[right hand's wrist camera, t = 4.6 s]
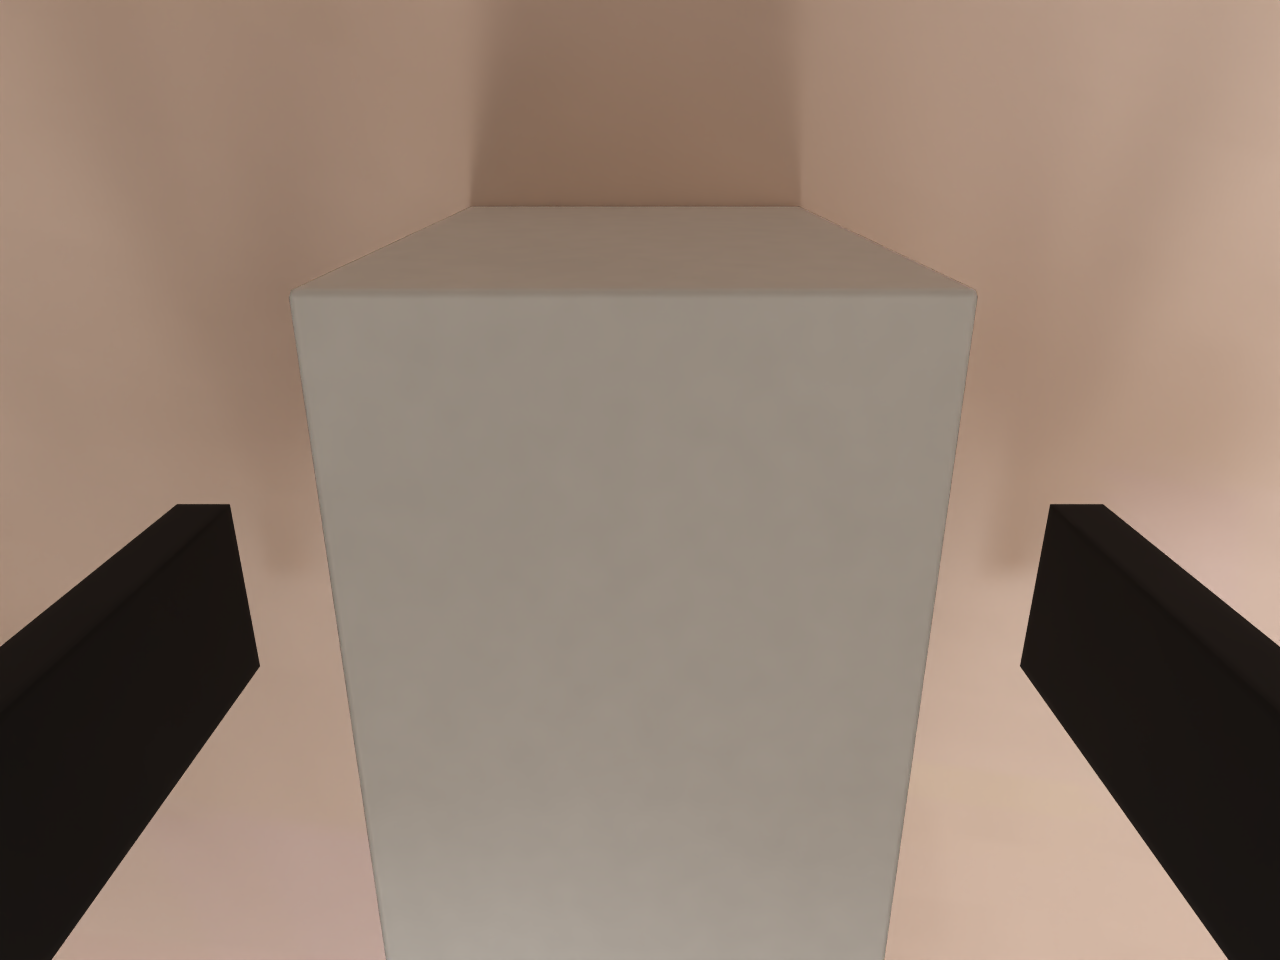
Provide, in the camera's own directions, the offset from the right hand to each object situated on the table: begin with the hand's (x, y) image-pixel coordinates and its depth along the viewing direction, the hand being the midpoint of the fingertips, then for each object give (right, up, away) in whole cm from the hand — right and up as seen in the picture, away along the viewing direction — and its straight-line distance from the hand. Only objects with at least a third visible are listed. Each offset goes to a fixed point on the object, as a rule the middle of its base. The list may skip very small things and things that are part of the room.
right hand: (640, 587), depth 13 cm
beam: (0, -32, +15) cm, 36 cm away
